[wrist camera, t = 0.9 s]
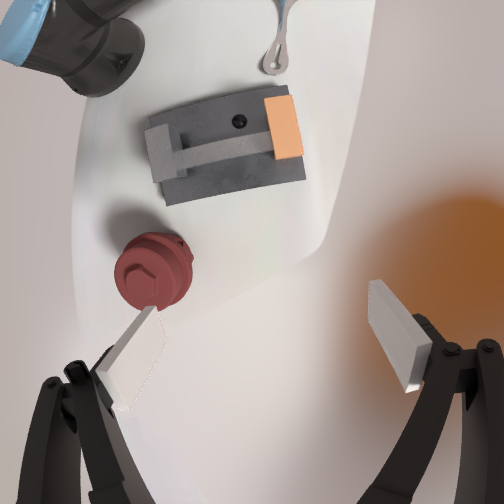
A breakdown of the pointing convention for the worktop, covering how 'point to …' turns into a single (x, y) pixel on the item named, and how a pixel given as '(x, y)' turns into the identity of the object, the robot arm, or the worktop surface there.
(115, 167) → the worktop surface
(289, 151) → the block
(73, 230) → the worktop surface
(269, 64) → the grey spoon
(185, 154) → the bar
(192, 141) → the hole plate
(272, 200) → the worktop surface
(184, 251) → the mechanical component
